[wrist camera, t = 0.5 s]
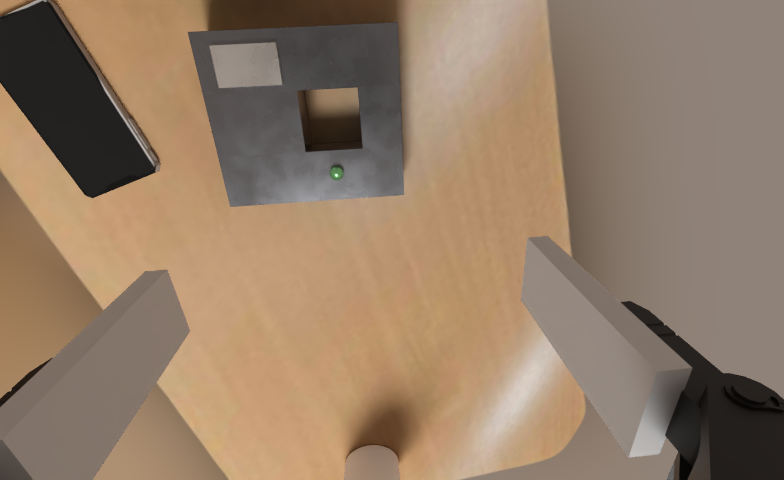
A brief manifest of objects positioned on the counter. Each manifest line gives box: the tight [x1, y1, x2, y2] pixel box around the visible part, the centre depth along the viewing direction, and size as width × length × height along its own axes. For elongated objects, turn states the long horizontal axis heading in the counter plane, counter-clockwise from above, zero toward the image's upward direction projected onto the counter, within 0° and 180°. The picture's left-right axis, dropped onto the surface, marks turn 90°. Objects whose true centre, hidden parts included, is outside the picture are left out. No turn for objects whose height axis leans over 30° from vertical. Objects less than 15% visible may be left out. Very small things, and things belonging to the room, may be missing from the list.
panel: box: [188, 22, 404, 207], centre depth 33 cm, size 14×16×4 cm
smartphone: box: [0, 0, 161, 198], centre depth 33 cm, size 8×1×15 cm
